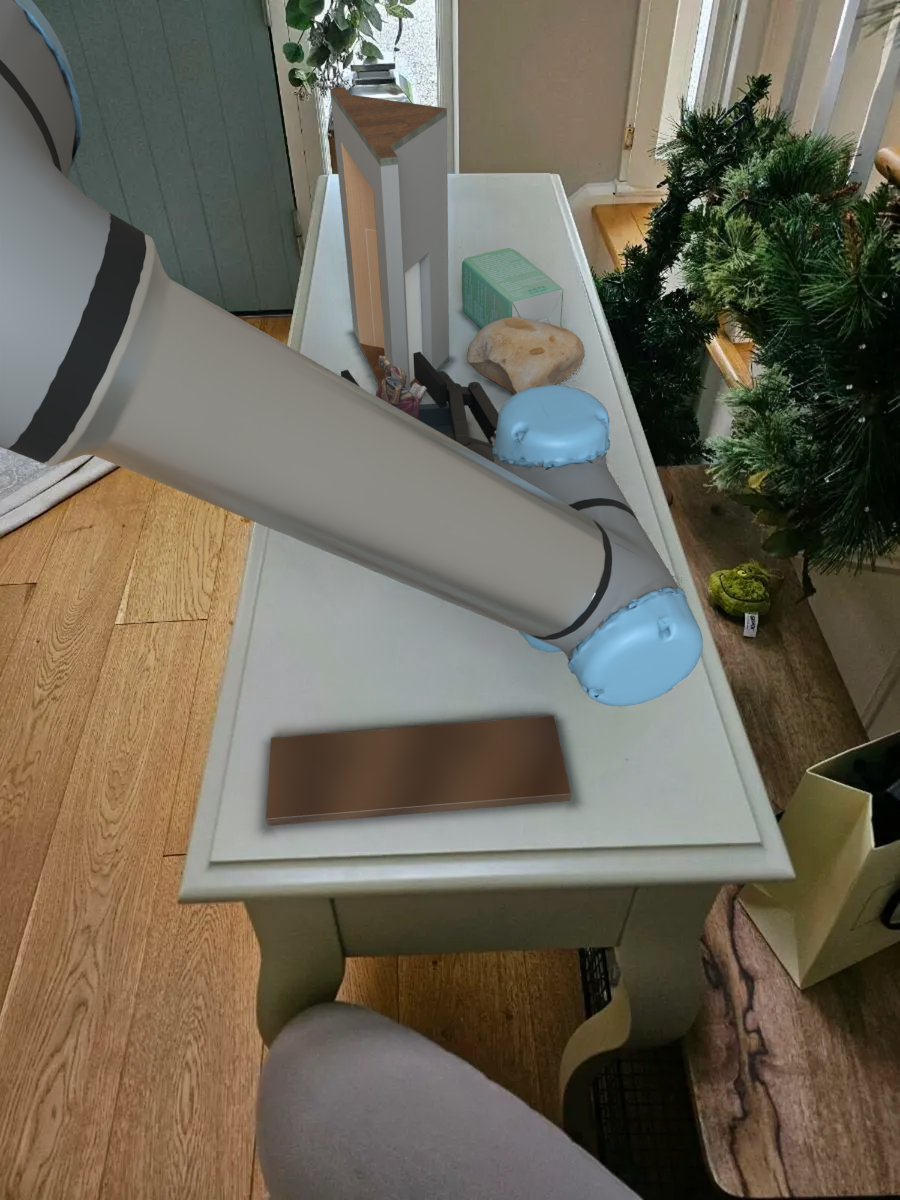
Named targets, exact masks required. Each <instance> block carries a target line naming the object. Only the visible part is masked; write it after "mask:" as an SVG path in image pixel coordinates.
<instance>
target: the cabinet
mask: <svg viewBox="0 0 900 1200" xmlns="http://www.w3.org/2000/svg"><path fill="white" fill-rule="evenodd" d="M329 93H330V101H331V102H330V104H331V114H332V123H333V124H332V125H333V134H334V144H335V145H334V146H335V157H336V165H337V175H338V176H337V177H338V185H339V186H338V187H339V196H340V197H339V198H340V206H341V207H340V208H341V218H342V227H343V237H344V238H343V239H344V247H345V258H346V268H347V269H346V270H347V278H348V279H347V280H348V289H349V290H348V291H349V299H350V300H349V301H350V309H351V310H350V311H351V318H352V319H351V321H352V330H353V331H352V332H353V336H354V337H355V340H356V342H357V344H358V347H359V349H360V351H361V353H362V355H363V357H364V359H365V361H366V363H367V365H368V367H369V369H370V372H371V374H372V376H373V378H374V380H375V382H376V384H377V386H378V388H379V387H380V386H381V383H382V380H383V379H384V377H385V375H384V373H385V372H384V371H383V370H382V368H381V367H380V365H379V356H385V357H386V358H387V359H388V361H389V362H390V366H391V368H392V367H393V366H398V367H400V368H402V369H403V370H404V371H405V373H406V376H407V377H406V384H405V386H406V388H407V389H408V390H410V388H411V387H412V385H413V384H414V383H417V384H418V385H420V386H422V385H421V384H420V383H419V382H418V381H417V379H416V378H415V377H414V358H413V353H416V352H421V353H422V355H423V356H424V357H425V358H426V359H427V360H428V362H429V363H430V364H431V365H432V366H433V367H434V369H435V370H436V371H437V372H440V371H442V369H443V368H444V367H445V366H446V365H447V364H448V363H449V361H450V319H449V318H450V317H449V316H450V314H449V313H450V312H449V311H450V310H449V309H450V308H449V305H450V304H449V205H448V203H449V201H448V200H449V199H448V197H449V196H448V194H449V193H448V192H449V190H448V187H449V186H448V185H449V184H448V108H447V107H441V106H434V105H426V104H419V103H413V102H405V101H398V100H392V99H384V98H378V97H370V96H364V95H358V94H357V95H356V94H351V93H350V91H348V89H347V87H345V86H341V87H333V88H331V87H330V88H329Z"/></svg>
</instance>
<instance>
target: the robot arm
mask: <svg viewBox="0 0 900 1200" xmlns="http://www.w3.org/2000/svg"><path fill="white" fill-rule="evenodd" d="M77 91H78V90H77V87H76V82H75V78H74V75H73V72H72V67H71V65H70V62H69V60H68V56H67V54H66V52H65V50H64V47H63V45H62V44H61V41H60V39H59V37H58V35H57V34H56V32H55V31H54V29H53V27H52V25H51V24H50V22H49V21H48V19H47V17H45V16H44V14H43V13H42V11H41V10H40V8H39V7H38V6H37V4H36V3H35V2H34V1H33V0H0V448H2V449H5V450H8V451H10V452H13V453H16V454H18V455H21V456H23V457H26V458H28V459H31V460H33V461H37V462H38V463H40V464H44V465H46V466H49V467H54V466H58V465H59V464H63V463H65V462H68V461H71V460H74V459H76V458H81V457H83V456H94V457H96V458H98V459H101V460H103V461H106V462H108V463H110V464H112V465H113V464H114V466H115V465H116V466H118V467H120V468H122V469H125V470H128V471H130V472H131V473H135V474H137V475H140V476H142V477H144V478H147V479H149V480H152V481H154V482H157V483H159V484H161V485H164V486H166V487H169V488H171V489H174V490H176V491H178V492H181V493H183V494H186V495H188V496H190V497H193V498H195V499H198V500H200V501H203V502H204V503H208V504H210V505H212V506H215V507H217V508H219V509H223V510H225V511H227V512H230V513H232V514H234V515H237V516H239V517H242V518H244V519H246V520H249V521H251V522H254V523H256V524H258V525H261V526H263V527H265V528H269V529H271V530H274V531H276V532H278V533H281V534H282V535H285V536H288V537H290V538H293V539H295V540H297V541H300V542H302V543H305V544H307V545H309V546H312V547H314V548H316V549H318V550H322V551H323V552H326V553H329V554H331V555H333V556H336V557H338V558H341V559H344V560H346V561H348V562H350V563H353V564H355V565H358V566H361V567H363V568H365V569H368V570H370V571H372V572H374V573H376V574H380V575H382V576H385V577H387V578H389V579H392V580H394V581H396V582H399V583H401V584H404V585H405V586H408V587H411V588H414V589H416V590H419V591H421V592H423V593H425V594H429V595H431V596H433V597H435V598H438V599H440V600H442V601H445V602H447V603H449V604H452V605H455V606H456V607H460V608H462V609H465V610H466V611H469V612H472V613H474V614H477V615H479V616H482V617H484V618H486V619H489V620H491V621H494V622H496V623H498V624H501V625H503V626H506V627H508V628H510V629H513V630H515V631H517V632H518V633H519V635H521V637H522V638H523V639H524V640H525V642H527V644H528V645H529V646H530V647H531V648H533V649H534V650H537V651H539V652H543V653H558V652H563V654H564V655H565V656H566V657H567V660H568V662H567V667H568V670H569V672H570V673H571V674H572V675H575V677H576V679H577V681H578V684H579V685H580V687H581V689H582V690H583V691H584V692H585V694H587V696H588V697H589V698H590V699H591V700H593V701H595V702H596V703H599V704H601V705H605V706H610V707H629V706H636V705H640V704H644V703H648V702H650V701H652V700H656V699H657V698H659V697H661V696H663V695H665V694H667V693H668V692H670V691H672V690H673V688H674V687H676V686H678V684H679V683H680V682H682V681H684V680H685V679H686V678H687V677H688V676H690V674H691V673H692V672H693V670H694V669H695V668H696V666H697V664H698V663H699V660H700V658H701V656H702V653H703V647H704V646H703V644H704V639H703V632H702V630H701V628H700V625H699V624H698V621H697V619H696V618H695V615H694V613H693V611H692V609H691V606H690V605H689V602H688V597H687V595H686V592H685V591H684V590H683V588H681V587H679V585H678V583H677V582H676V580H675V578H674V576H673V575H672V573H671V572H670V570H669V568H668V566H667V565H666V563H665V562H664V560H663V558H662V557H661V556H660V554H659V552H658V550H657V549H656V547H655V546H654V544H653V542H652V540H651V539H650V538H649V536H648V534H647V532H646V530H645V529H644V527H643V526H642V525H641V523H640V521H639V519H638V518H637V516H636V514H635V512H634V510H633V508H632V507H631V506H630V504H629V502H628V500H627V499H626V497H625V495H624V493H623V491H622V490H621V488H620V487H619V485H618V483H617V481H616V480H615V478H614V476H613V475H612V473H611V472H610V470H609V467H608V465H607V454H608V451H609V450H610V448H611V440H610V416H609V413H608V410H607V408H606V406H605V405H604V404H603V403H602V402H601V401H600V400H599V399H598V398H597V397H595V396H594V395H592V394H591V393H589V392H587V391H585V390H583V389H580V388H577V387H573V386H568V385H562V384H555V385H546V386H541V387H531V388H527V389H525V390H523V391H521V392H518V393H516V394H513V395H512V396H511V397H509V398H508V399H507V400H506V401H505V402H504V403H503V404H502V407H500V411H499V412H498V411H497V409H496V407H495V405H494V404H493V402H492V401H491V399H490V397H489V396H488V394H487V393H486V391H485V390H484V388H483V386H482V385H481V384H480V382H478V381H470V382H469V383H468V385H467V386H462V385H461V384H460V383H457V382H455V381H454V380H453V379H452V377H451V376H449V374H448V373H447V372H446V371H444V370H440V371H439V372H437V371H436V370H435V369H434V367H433V366H432V365H431V364H430V363H429V362H428V360H427V359H426V358H425V357H424V356H423V355H422V353H421V352H416V353H413V358H414V377H415V378H416V379H417V381H418V382H419V383H420V384H421V385H422V386H425V387H426V388H427V390H426V391H425V393H427V394H428V395H429V397H430V398H431V399H432V400H433V401H434V404H435V403H436V404H437V405H438V406H439V408H444V407H447V403H449V414H450V421H451V429H452V432H451V433H447V434H442V433H440V432H438V431H437V430H435V429H433V428H431V427H430V426H428V425H426V424H424V423H423V422H421V421H419V420H417V419H416V418H414V417H412V416H410V415H408V414H407V413H405V412H403V411H401V410H400V409H398V408H396V407H394V406H393V405H391V404H389V403H387V402H386V401H384V400H382V399H380V398H379V397H377V396H376V394H373V393H372V392H370V391H368V390H367V389H365V388H363V387H361V386H360V385H359V383H358V382H357V380H356V379H355V377H354V376H353V375H352V373H351V372H350V370H349V369H344V370H341V371H340V374H338V373H337V372H335V371H333V370H331V369H329V368H328V367H325V365H322V364H320V363H318V362H317V361H316V360H313V359H312V358H310V357H308V356H307V355H305V354H303V353H301V352H300V351H298V350H296V349H295V348H292V347H291V346H289V345H287V344H285V343H284V342H282V341H280V340H278V338H277V339H276V338H275V337H273V336H272V335H269V334H268V333H266V332H264V331H263V330H261V329H259V328H257V327H255V326H254V325H252V324H250V323H249V322H247V321H245V320H243V319H242V318H240V317H238V316H236V315H235V314H233V313H231V312H229V311H227V310H225V309H224V308H222V307H220V306H218V305H217V304H215V303H213V302H212V301H210V300H208V299H207V298H205V297H203V296H201V295H200V294H197V293H196V292H195V291H192V290H191V289H188V288H187V287H185V286H183V285H182V284H180V283H178V282H176V281H174V280H173V279H171V278H170V277H169V276H168V274H167V272H166V271H165V269H164V267H163V264H162V261H161V258H160V256H159V253H158V249H157V247H156V244H155V242H154V239H153V237H152V236H150V235H148V234H147V233H145V232H144V231H142V230H140V229H139V228H137V227H135V226H134V225H132V224H130V223H128V222H127V221H125V220H123V219H122V218H120V217H118V216H117V215H115V214H113V213H112V212H110V211H109V210H107V209H105V208H104V207H103V206H101V205H100V204H99V203H97V202H96V201H94V200H93V199H91V198H90V197H89V196H87V195H86V194H85V193H83V191H81V190H80V189H79V188H78V187H77V186H76V185H75V184H73V182H71V181H70V180H69V178H70V177H69V176H70V172H71V169H72V168H73V166H74V164H75V162H76V159H77V158H76V157H77V153H78V150H79V148H80V146H81V139H82V138H81V137H82V129H83V128H82V127H83V118H82V112H81V103H80V99H79V94H78V92H77ZM464 407H468V410H469V412H470V413H471V415H472V416H473V418H474V419H475V422H476V423H477V425H478V426H479V428H480V430H481V432H482V433H483V435H484V437H485V438H486V440H487V441H488V442H486V441H484V440H481V439H477V438H474V437H471V436H470V437H469V435H470V433H469V434H468V429H469V426H468V427H467V424H468V420H467V421H466V418H467V416H466V417H465V413H466V409H465V410H464Z"/></svg>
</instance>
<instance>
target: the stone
mask: <svg viewBox="0 0 900 1200" xmlns="http://www.w3.org/2000/svg"><path fill="white" fill-rule="evenodd" d="M584 346H585V345H584V344H583V341H582V340H581V338H580V337H579V336H578V335H577V334H575V333H574V332H573V331H572V330H570V329H568V328H566V327H562V326H561V327H558V326H555V325H551V324H548V323H543V322H538V321H533V320H528V319H523V318H514V317H511V318H503V319H499V320H497V321H494V322H492V323H490V324H488V325H486V326H485V327H483V328H482V329H481V328H480V330H479V331H478V332H477V333H476V334H475V336H474V338H473V339H472V340H471V341H470V343H469V346H468V348H467V352H466V363H467V364H468V365H470V366H471V367H473V368H474V369H475V370H476V371H477V372H478V373H479V374H480V375H483V376H484V377H486V378H487V379H489V380H491V381H492V382H494V383H497V384H498V385H500V386H501V387H503V388H505V389H507V390H508V391H509V392H511V394H513V395H515V394H516V393H518V392H521V391H523V390H525V389H527V388H531V387H541V386H546V385H557V384H559V383H560V382H562V381H564V380H566V379H567V378H569V377H570V376H572V375H573V374H574V373H575V372H577V370H579V369H580V367H581V366H582V364H583V361H584V359H585V352H586V351H585V347H584Z"/></svg>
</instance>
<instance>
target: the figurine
mask: <svg viewBox="0 0 900 1200" xmlns="http://www.w3.org/2000/svg"><path fill="white" fill-rule="evenodd" d="M379 365H380V367H381V368H382V370H383V371H384V372H385V373H384V375H385V377H384V379H383V380H382V383H381V386H380V387H379V386H378V388H377V390H376V391H375V392H376V393H375V396H377V397H379V398H380V399H382V400H384V401H386V402H387V403H389V404H391V405H393V406H394V407H396V408H398V409H400V410H401V411H403V412H405V413H407V414H408V415H410V416H412V417H414V418H416V419H417V420H419V404H421V402H422V400H423V398H424V395H425V393H426V390H427V388H426V387H425V386H420V385H418V384H417V383H414V384H413V385H412V387H411V388H410V390H408V389H407V388H406V386H405V384H406V377H407V376H406V373H405V371H404V370H403V369H402V368H400V367H398V366H393V367H392V368H391V366H390V362H389V361H388V359H387V358H386V357H385V356H379Z"/></svg>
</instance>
